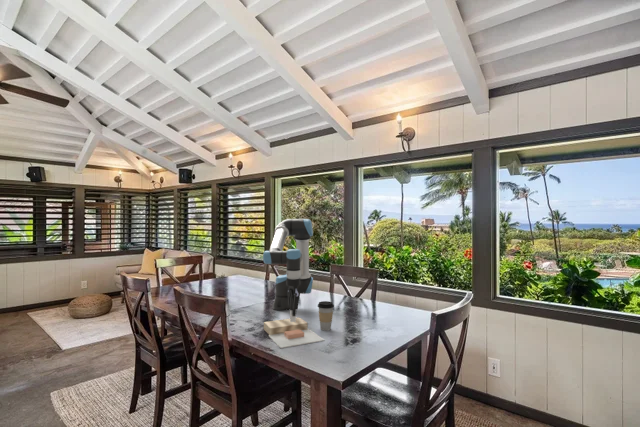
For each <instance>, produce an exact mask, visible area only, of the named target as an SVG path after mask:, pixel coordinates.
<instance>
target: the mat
mask: <svg viewBox="0 0 640 427" xmlns="http://www.w3.org/2000/svg"><path fill="white" fill-rule="evenodd" d="M301 331H303V332H304V337H298V338H292V339H288V338H286V337H285V336H284V333H279V334H273V335H269V334H268V337H269V339H271V340H272V341H273V343H274V344H275V345H277V347H278V348H280V349H285V348H291V347H296V346H302V345H308V344H313V343H319V342H325V339H324V338H323V337H321V336H320V335H318V334H317V333H316V332H314V331H313V330H311V329H309V328H308V329H305V330H301Z"/></svg>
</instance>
